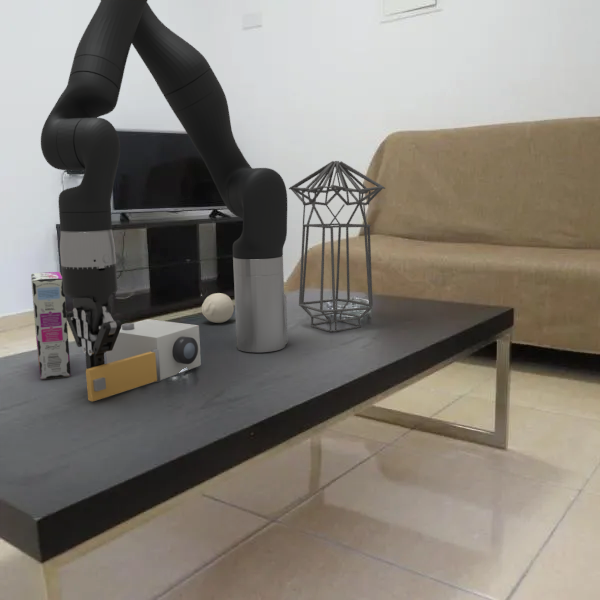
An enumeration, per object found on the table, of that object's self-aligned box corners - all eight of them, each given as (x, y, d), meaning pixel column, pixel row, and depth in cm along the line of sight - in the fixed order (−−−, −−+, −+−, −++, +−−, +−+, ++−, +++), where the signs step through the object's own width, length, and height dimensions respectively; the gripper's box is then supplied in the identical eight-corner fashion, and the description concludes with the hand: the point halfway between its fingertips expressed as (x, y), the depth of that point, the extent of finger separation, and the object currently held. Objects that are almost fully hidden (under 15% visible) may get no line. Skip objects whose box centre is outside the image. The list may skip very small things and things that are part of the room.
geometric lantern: (286, 325, 142) (284, 162, 137) (346, 318, 150) (346, 163, 144) (326, 337, 128) (325, 157, 123) (388, 329, 136) (390, 159, 131)
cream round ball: (195, 323, 146) (194, 294, 145) (221, 318, 151) (220, 289, 150) (213, 327, 141) (212, 297, 140) (240, 322, 146) (238, 292, 145)
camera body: (150, 356, 118) (147, 314, 116) (208, 366, 110) (206, 321, 109) (107, 370, 109) (103, 325, 108) (167, 382, 102) (164, 333, 101)
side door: (157, 379, 103) (155, 348, 102) (164, 381, 102) (162, 350, 101) (87, 401, 93) (85, 367, 92) (95, 403, 92) (92, 369, 91)
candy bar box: (73, 376, 106) (64, 278, 103) (40, 381, 104) (30, 280, 102) (68, 360, 116) (60, 270, 114) (38, 364, 115) (29, 272, 112)
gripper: (43, 260, 95) (52, 374, 98) (85, 268, 86) (94, 393, 89) (91, 256, 100) (98, 364, 103) (136, 263, 91) (142, 381, 94)
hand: (96, 377), depth 96 cm, fingers closed
